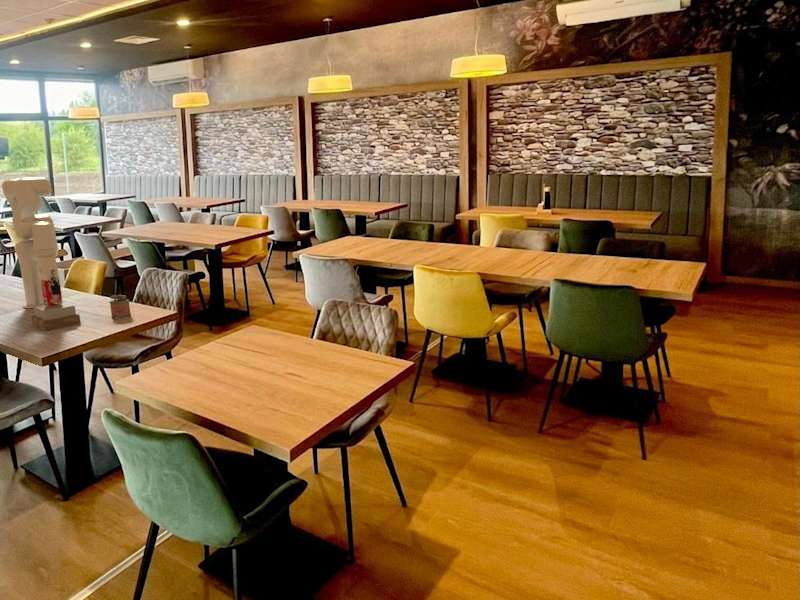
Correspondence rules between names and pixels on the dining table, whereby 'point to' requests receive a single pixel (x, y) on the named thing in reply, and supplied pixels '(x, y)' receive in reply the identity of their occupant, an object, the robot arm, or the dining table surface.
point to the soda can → (50, 295)
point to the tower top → (54, 311)
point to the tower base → (56, 322)
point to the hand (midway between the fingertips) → (51, 292)
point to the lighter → (120, 307)
